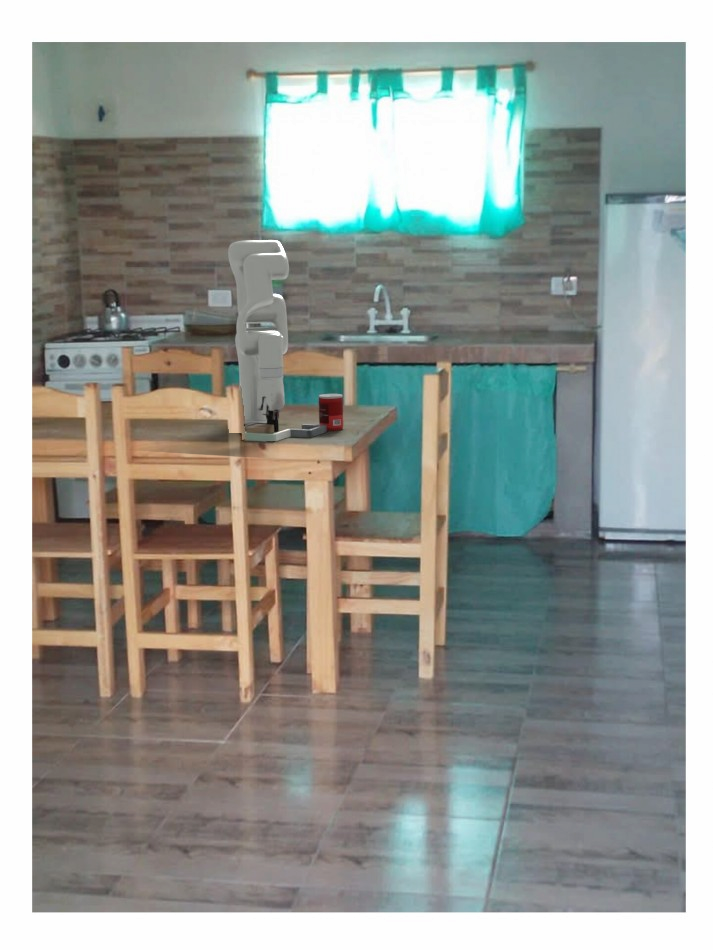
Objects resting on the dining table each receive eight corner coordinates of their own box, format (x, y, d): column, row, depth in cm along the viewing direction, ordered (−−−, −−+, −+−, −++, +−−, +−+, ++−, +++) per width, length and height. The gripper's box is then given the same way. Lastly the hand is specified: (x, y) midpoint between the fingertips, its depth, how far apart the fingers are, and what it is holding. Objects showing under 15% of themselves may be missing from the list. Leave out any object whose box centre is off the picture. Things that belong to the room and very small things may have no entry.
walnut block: (257, 436, 390) (256, 424, 389) (274, 437, 387) (274, 424, 387) (246, 440, 383) (246, 427, 383) (263, 441, 381) (263, 428, 380)
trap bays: (256, 428, 406) (256, 421, 405) (326, 431, 396) (326, 425, 395) (239, 433, 396) (239, 426, 395) (311, 437, 386) (310, 430, 385)
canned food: (346, 427, 404) (345, 393, 402) (339, 431, 397) (338, 396, 395) (323, 427, 407) (322, 393, 404) (316, 430, 399) (315, 396, 397)
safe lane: (258, 434, 393) (258, 427, 392) (290, 436, 388) (290, 429, 388) (241, 440, 383) (240, 433, 382) (274, 441, 378) (273, 434, 378)
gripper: (271, 370, 394) (273, 427, 398) (248, 375, 381) (250, 435, 384) (292, 371, 391) (294, 429, 395) (270, 376, 378) (272, 436, 381)
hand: (272, 431), depth 390 cm, fingers closed
